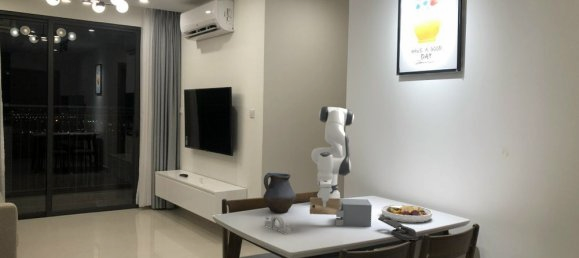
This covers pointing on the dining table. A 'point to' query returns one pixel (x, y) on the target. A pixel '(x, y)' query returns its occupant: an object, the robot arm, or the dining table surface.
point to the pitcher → (278, 192)
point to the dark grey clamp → (400, 229)
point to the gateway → (281, 224)
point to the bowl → (407, 213)
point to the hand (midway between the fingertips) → (324, 205)
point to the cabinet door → (331, 206)
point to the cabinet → (354, 213)
